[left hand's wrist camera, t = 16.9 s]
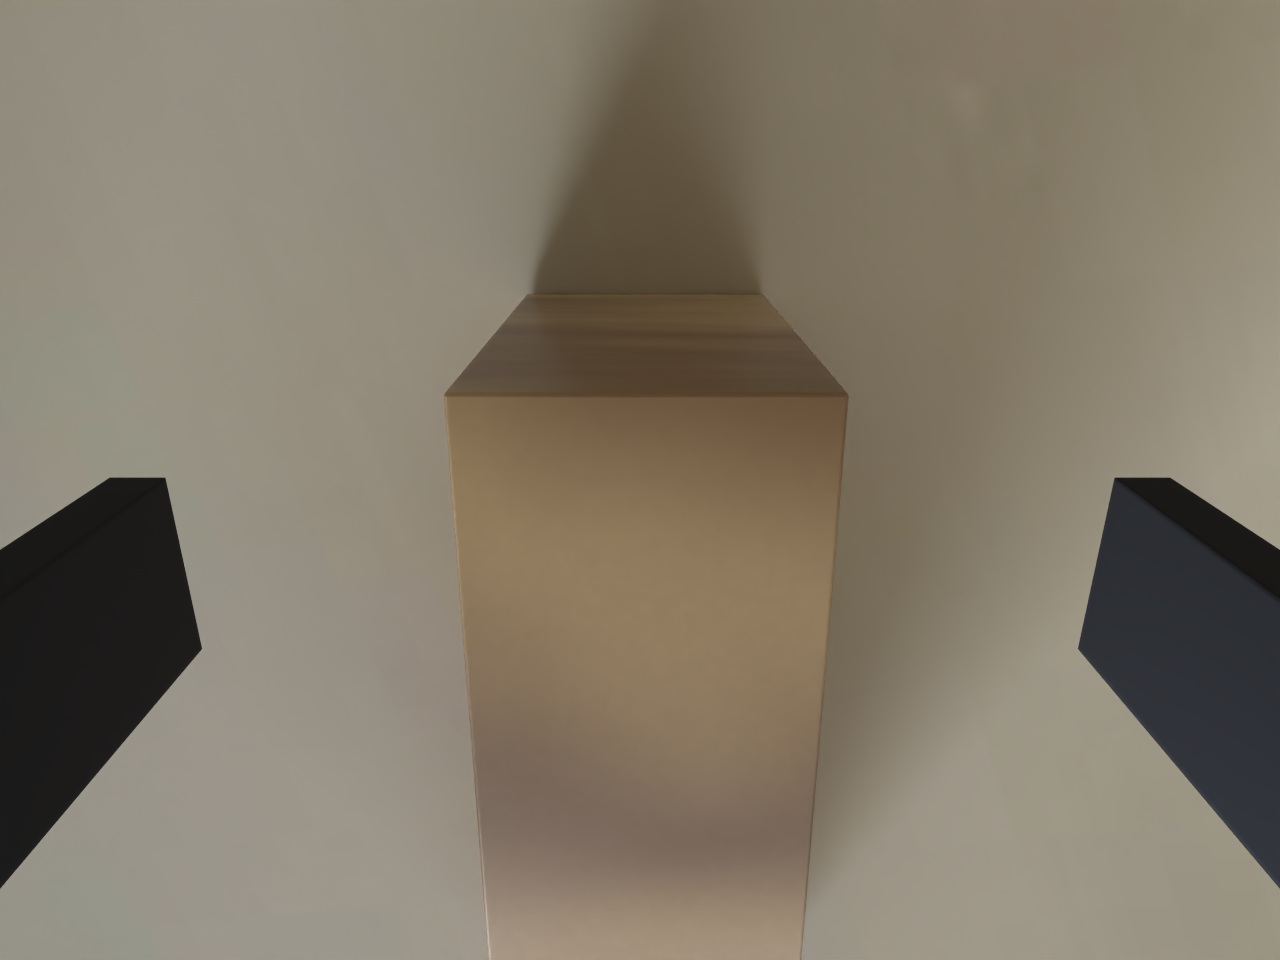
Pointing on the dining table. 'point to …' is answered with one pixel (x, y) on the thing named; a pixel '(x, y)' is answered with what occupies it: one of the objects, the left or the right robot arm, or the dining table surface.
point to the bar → (645, 621)
